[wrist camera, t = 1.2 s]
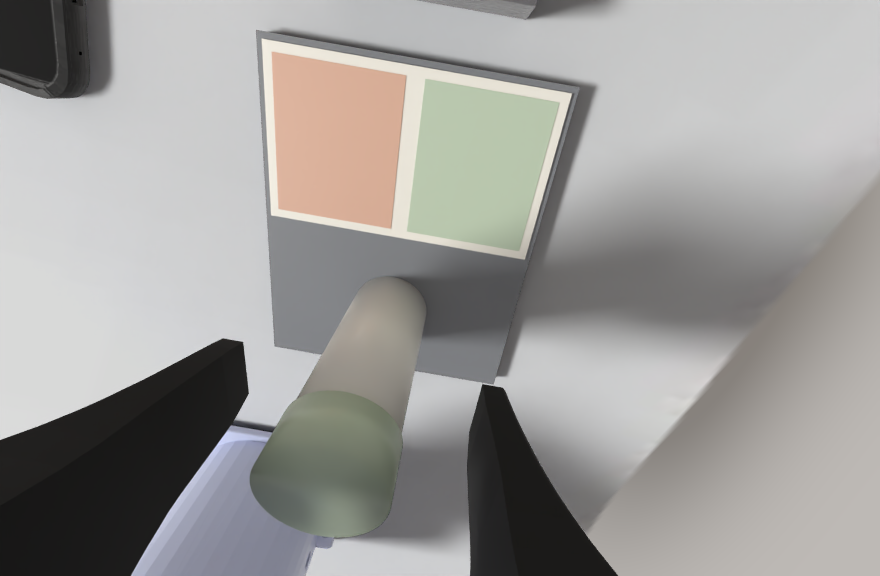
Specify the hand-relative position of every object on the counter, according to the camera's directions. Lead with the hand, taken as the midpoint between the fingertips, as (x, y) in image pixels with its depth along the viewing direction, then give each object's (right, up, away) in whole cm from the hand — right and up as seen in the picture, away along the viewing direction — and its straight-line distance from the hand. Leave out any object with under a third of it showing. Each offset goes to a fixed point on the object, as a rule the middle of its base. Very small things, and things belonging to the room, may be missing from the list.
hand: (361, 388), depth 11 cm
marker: (0, +2, +4) cm, 5 cm away
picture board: (+1, +5, +3) cm, 6 cm away
